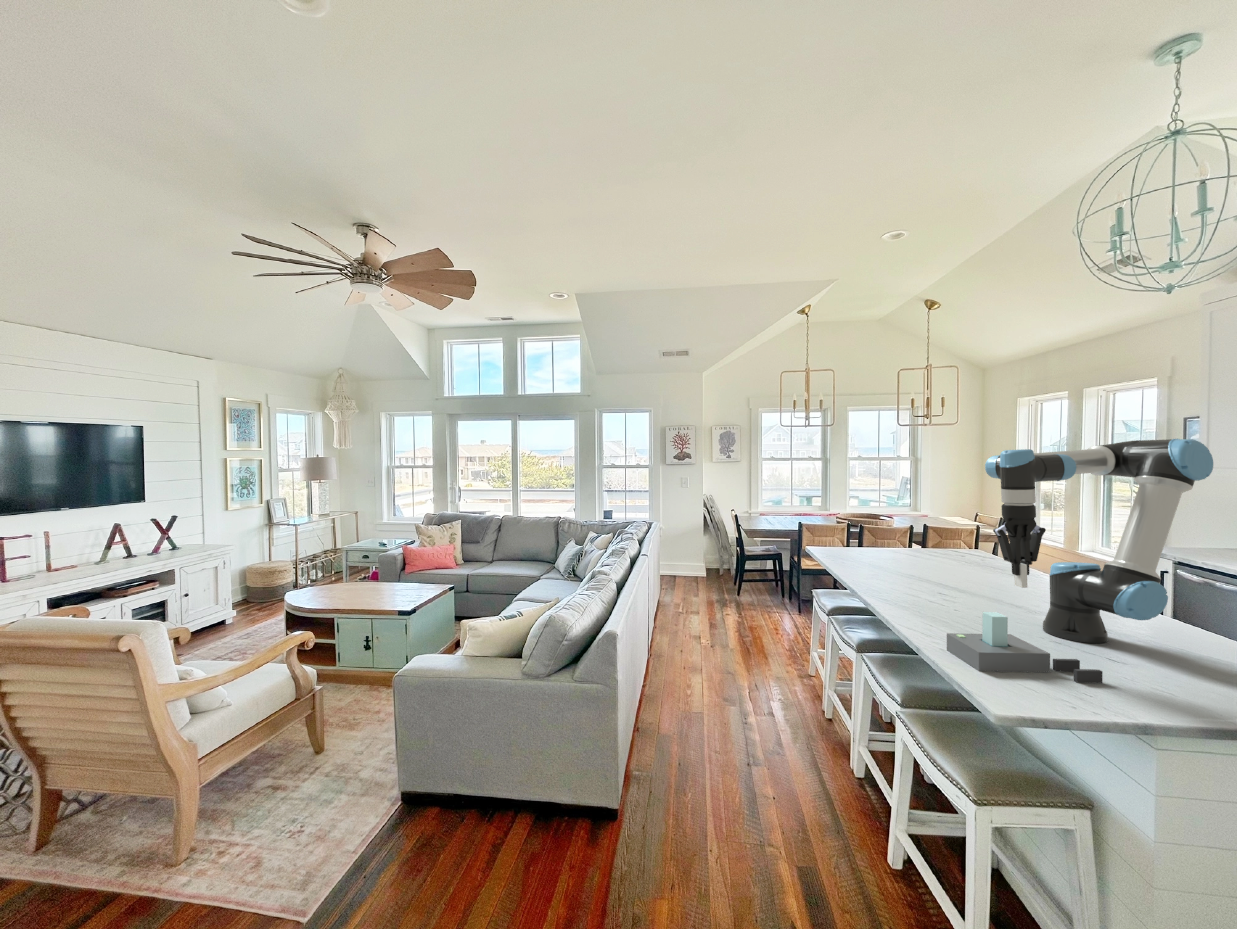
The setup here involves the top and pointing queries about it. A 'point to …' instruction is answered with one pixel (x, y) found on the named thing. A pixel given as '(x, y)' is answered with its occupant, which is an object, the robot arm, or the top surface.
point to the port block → (998, 654)
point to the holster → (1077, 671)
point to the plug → (995, 629)
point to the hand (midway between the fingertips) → (1021, 586)
